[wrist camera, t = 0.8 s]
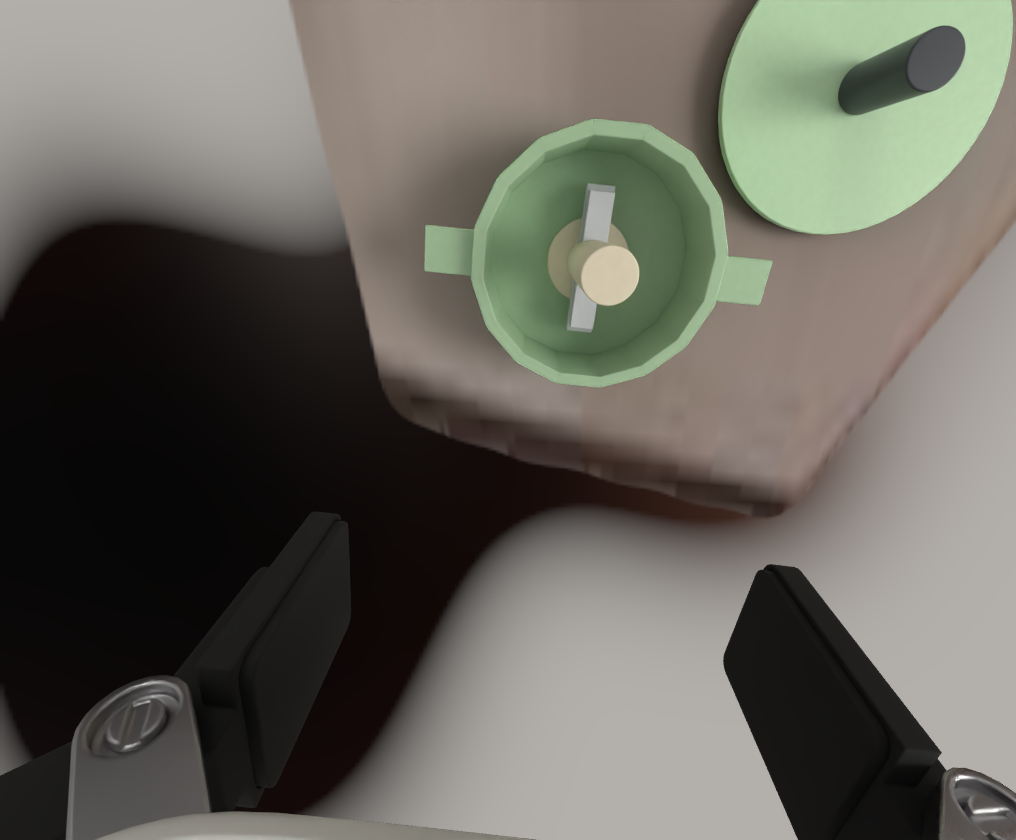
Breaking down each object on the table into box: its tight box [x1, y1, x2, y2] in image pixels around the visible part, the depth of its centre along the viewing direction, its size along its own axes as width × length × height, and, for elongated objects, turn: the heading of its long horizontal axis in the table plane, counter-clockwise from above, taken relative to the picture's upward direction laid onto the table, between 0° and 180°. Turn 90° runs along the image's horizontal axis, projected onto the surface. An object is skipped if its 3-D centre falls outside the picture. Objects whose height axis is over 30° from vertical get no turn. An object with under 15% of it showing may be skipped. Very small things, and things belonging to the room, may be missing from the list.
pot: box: [424, 118, 773, 388], centre depth 27 cm, size 13×19×6 cm
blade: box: [547, 183, 639, 333], centre depth 25 cm, size 8×5×10 cm, turn 174°
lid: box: [718, 0, 1013, 235], centre depth 23 cm, size 14×14×6 cm
